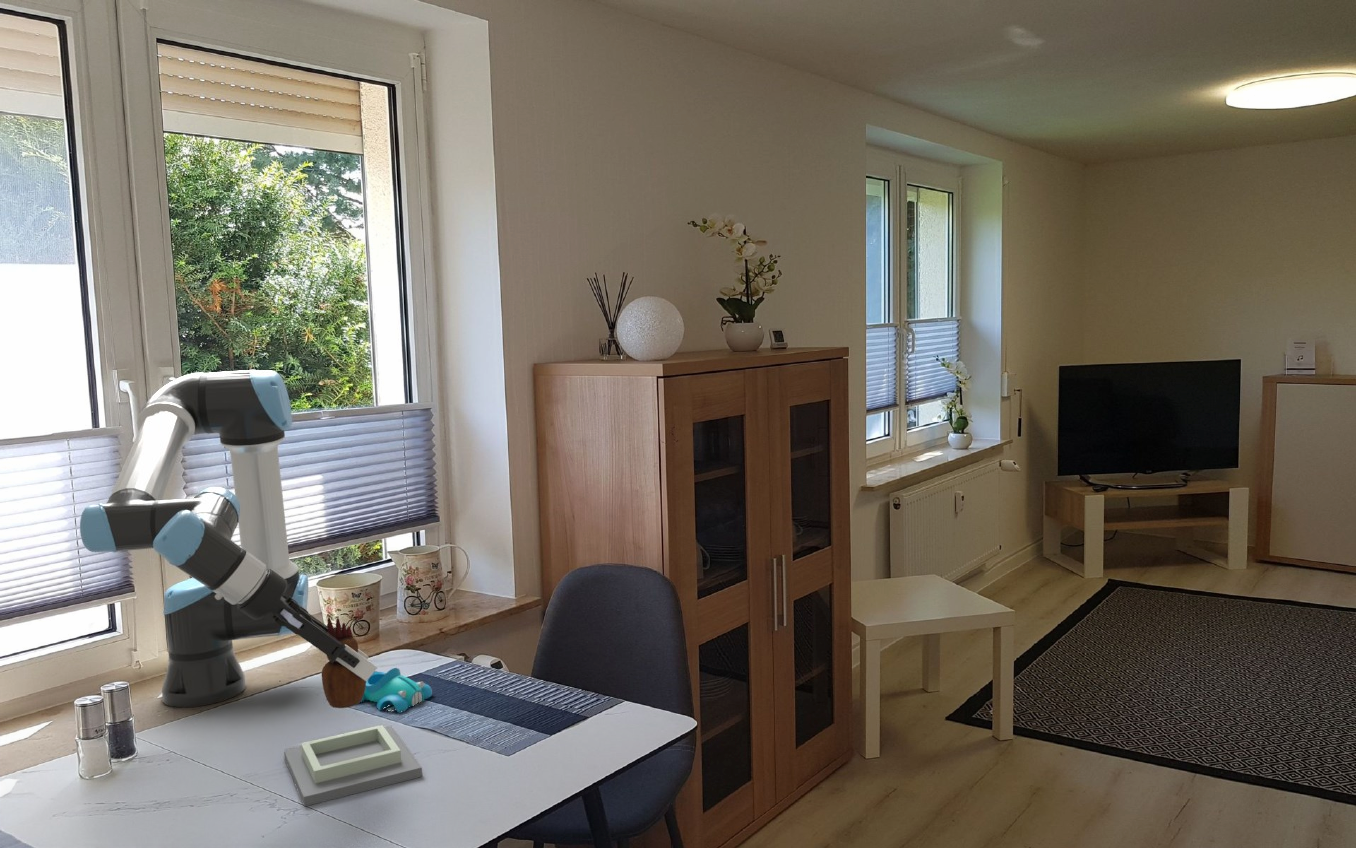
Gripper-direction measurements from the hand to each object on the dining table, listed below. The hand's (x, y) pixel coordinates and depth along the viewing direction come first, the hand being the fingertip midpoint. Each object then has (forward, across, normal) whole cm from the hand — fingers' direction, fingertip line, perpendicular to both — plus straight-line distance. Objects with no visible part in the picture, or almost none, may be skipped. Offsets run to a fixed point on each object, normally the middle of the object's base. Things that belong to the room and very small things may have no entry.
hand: (367, 668), depth 166 cm
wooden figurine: (+1, 0, -6) cm, 7 cm away
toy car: (+18, -29, -6) cm, 35 cm away
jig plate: (+9, 0, -14) cm, 17 cm away
